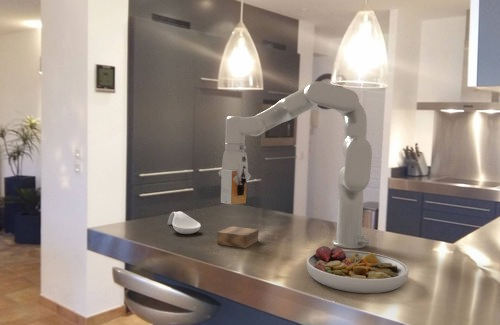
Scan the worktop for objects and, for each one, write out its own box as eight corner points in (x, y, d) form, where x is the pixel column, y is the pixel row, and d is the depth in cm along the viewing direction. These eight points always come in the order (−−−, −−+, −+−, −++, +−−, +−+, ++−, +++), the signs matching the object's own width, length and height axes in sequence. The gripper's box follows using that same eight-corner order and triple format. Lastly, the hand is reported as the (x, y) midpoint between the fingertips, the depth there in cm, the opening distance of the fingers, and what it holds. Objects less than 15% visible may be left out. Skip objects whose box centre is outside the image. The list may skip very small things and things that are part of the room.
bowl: (423, 280, 143) (425, 254, 143) (378, 306, 121) (380, 276, 120) (338, 259, 163) (339, 237, 163) (286, 278, 141) (287, 253, 140)
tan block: (258, 242, 185) (258, 229, 185) (245, 248, 174) (246, 235, 174) (230, 238, 190) (231, 226, 189) (217, 244, 179) (217, 231, 178)
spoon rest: (205, 234, 194) (205, 217, 193) (178, 237, 188) (178, 220, 188) (183, 223, 214) (184, 208, 214) (159, 225, 209) (159, 210, 208)
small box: (231, 204, 178) (231, 170, 177) (220, 202, 182) (220, 169, 181) (246, 202, 183) (247, 169, 182) (235, 200, 188) (236, 168, 187)
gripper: (258, 149, 179) (256, 195, 180) (224, 147, 190) (223, 190, 191) (245, 149, 173) (244, 197, 174) (211, 147, 184) (210, 192, 185)
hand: (233, 193), depth 183 cm, fingers closed on small box, 6 cm apart
